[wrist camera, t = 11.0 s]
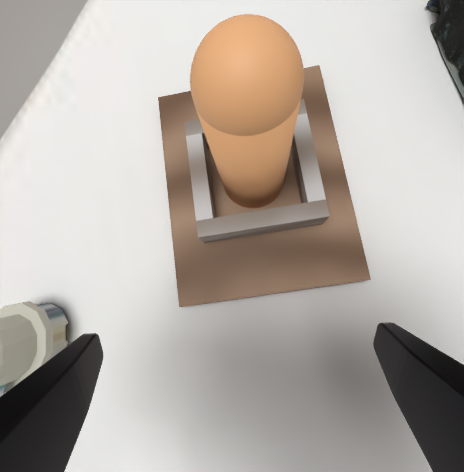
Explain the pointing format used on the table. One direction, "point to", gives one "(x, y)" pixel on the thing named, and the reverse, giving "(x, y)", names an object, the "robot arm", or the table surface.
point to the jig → (260, 211)
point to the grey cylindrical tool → (28, 339)
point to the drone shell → (450, 36)
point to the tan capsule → (248, 104)
